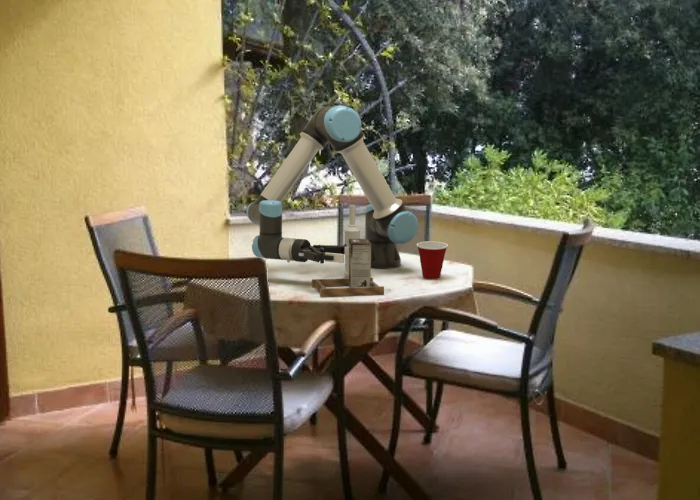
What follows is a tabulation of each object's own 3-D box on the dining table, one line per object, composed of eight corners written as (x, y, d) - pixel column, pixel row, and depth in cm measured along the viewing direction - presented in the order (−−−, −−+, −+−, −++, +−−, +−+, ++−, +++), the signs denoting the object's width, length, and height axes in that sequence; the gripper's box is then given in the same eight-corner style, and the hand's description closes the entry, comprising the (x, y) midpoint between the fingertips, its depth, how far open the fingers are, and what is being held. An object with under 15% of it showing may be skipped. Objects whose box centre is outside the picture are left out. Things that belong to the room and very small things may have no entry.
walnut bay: (371, 284, 262) (371, 277, 262) (383, 294, 247) (384, 286, 247) (312, 287, 258) (312, 279, 257) (320, 297, 243) (320, 289, 242)
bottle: (361, 277, 275) (362, 205, 270) (356, 279, 270) (357, 206, 266) (347, 275, 276) (347, 204, 272) (342, 278, 271) (342, 205, 267)
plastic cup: (415, 280, 269) (415, 245, 267) (415, 274, 280) (416, 240, 278) (447, 281, 268) (448, 246, 266) (447, 275, 279) (448, 241, 277)
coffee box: (347, 287, 257) (348, 238, 255) (367, 287, 258) (368, 238, 255) (350, 293, 248) (350, 242, 246) (370, 293, 249) (371, 242, 246)
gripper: (314, 255, 273) (370, 261, 264) (275, 267, 251) (335, 273, 242) (314, 234, 272) (370, 238, 263) (275, 243, 250) (335, 249, 241)
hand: (353, 255), depth 252 cm, fingers open, 13 cm apart
